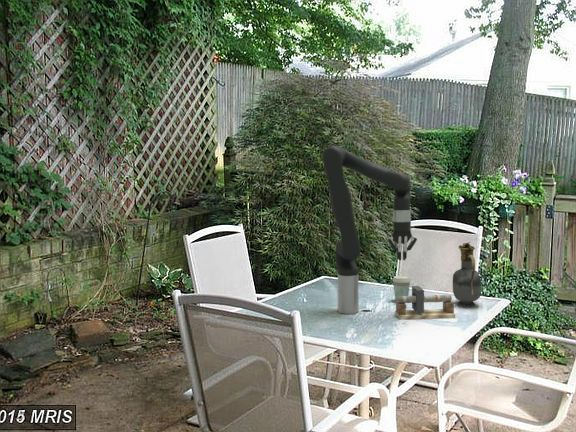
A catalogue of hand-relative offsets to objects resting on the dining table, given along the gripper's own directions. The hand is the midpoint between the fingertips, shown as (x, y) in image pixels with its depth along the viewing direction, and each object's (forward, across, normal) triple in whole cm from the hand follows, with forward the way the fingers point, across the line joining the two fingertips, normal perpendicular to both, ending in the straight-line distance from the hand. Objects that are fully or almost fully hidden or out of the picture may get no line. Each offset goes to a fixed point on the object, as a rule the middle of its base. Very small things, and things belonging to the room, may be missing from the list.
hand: (401, 259), depth 266 cm
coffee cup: (+25, +6, +27) cm, 37 cm away
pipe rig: (+25, +10, 0) cm, 27 cm away
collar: (+22, +7, 0) cm, 23 cm away
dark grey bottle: (+25, +34, +16) cm, 45 cm away
